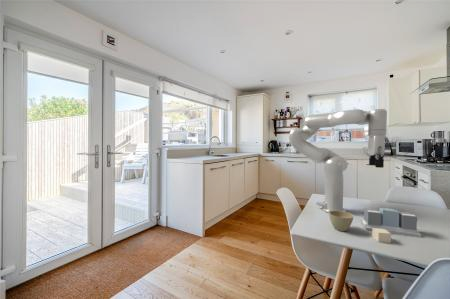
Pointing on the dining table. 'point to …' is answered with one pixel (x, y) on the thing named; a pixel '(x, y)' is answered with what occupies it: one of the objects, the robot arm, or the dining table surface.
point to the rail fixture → (405, 227)
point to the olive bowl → (341, 220)
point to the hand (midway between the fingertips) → (375, 166)
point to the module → (389, 217)
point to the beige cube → (381, 235)
